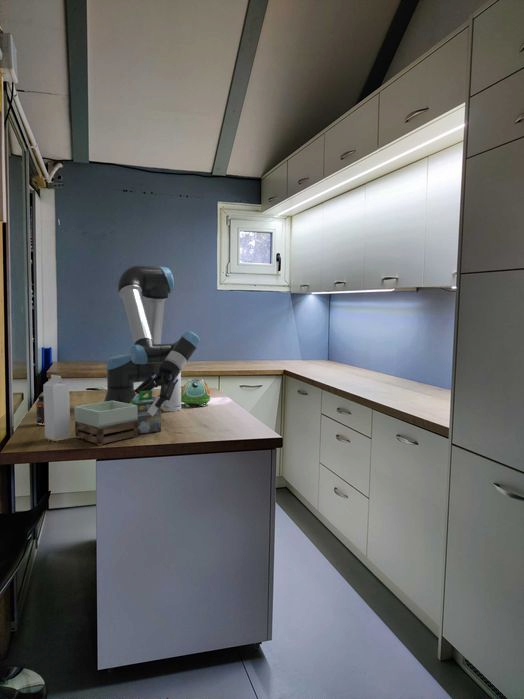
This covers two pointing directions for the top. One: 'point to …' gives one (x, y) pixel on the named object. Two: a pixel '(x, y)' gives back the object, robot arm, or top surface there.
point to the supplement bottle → (40, 409)
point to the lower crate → (106, 432)
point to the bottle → (174, 397)
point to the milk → (56, 408)
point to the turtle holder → (195, 392)
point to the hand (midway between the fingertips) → (139, 411)
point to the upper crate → (106, 413)
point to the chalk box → (144, 418)
